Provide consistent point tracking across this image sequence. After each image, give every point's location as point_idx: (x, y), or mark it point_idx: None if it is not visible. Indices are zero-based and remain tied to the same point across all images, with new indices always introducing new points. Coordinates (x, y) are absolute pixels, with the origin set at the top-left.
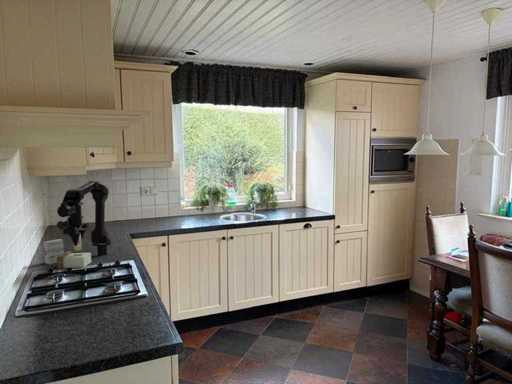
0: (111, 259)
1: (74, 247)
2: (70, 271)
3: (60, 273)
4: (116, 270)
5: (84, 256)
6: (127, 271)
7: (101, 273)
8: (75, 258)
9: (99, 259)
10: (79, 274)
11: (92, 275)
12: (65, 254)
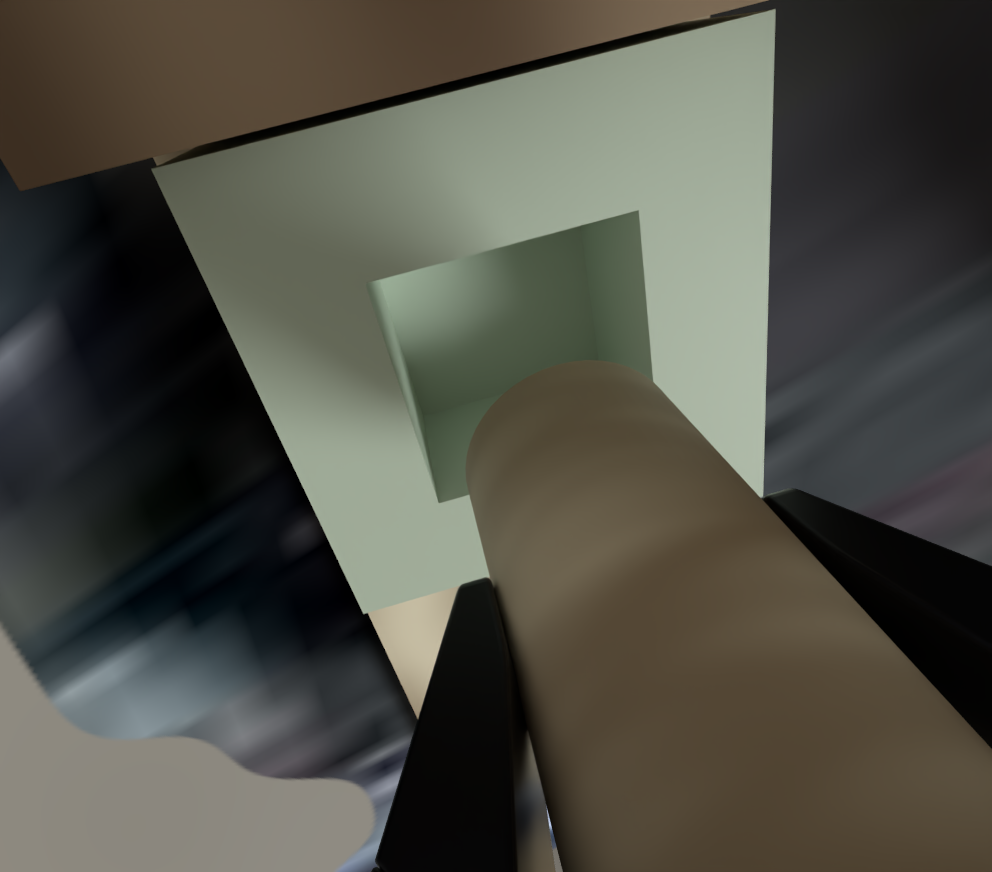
0: (889, 488)
1: (489, 502)
2: (200, 331)
3: (12, 230)
4: (381, 789)
5: (416, 597)
6: (364, 866)
7: (236, 746)
8: (301, 471)
9: (948, 323)
10: (102, 570)
11: (127, 721)
12: (420, 72)
